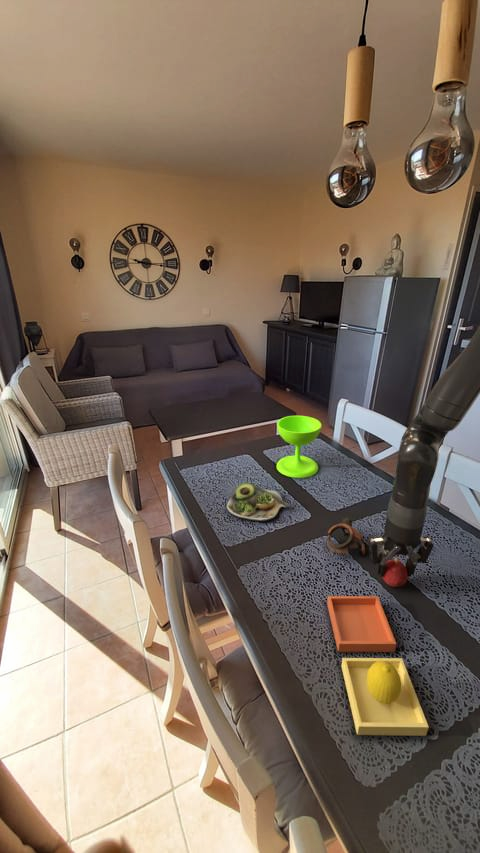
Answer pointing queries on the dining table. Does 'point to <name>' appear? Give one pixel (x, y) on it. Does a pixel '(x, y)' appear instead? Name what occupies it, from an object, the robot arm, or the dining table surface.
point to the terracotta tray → (360, 624)
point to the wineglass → (298, 445)
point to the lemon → (384, 682)
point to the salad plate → (254, 503)
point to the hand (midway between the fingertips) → (394, 573)
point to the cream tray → (378, 716)
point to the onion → (395, 573)
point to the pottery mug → (349, 532)
